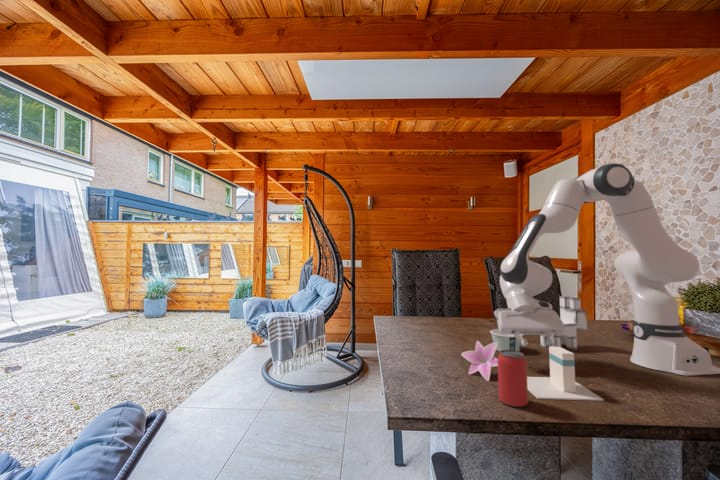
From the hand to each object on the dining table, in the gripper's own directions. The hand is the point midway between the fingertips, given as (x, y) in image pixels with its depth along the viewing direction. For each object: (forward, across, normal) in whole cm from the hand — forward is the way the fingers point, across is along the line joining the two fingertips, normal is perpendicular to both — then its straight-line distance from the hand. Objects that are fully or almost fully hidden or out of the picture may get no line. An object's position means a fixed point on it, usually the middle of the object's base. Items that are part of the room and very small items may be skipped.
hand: (538, 345), depth 97 cm
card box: (+14, 0, -3) cm, 15 cm away
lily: (+8, -18, +4) cm, 21 cm away
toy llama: (-14, +23, +26) cm, 38 cm away
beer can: (+21, -17, -9) cm, 29 cm away
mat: (+15, -2, -3) cm, 15 cm away
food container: (-11, 0, +24) cm, 26 cm away
